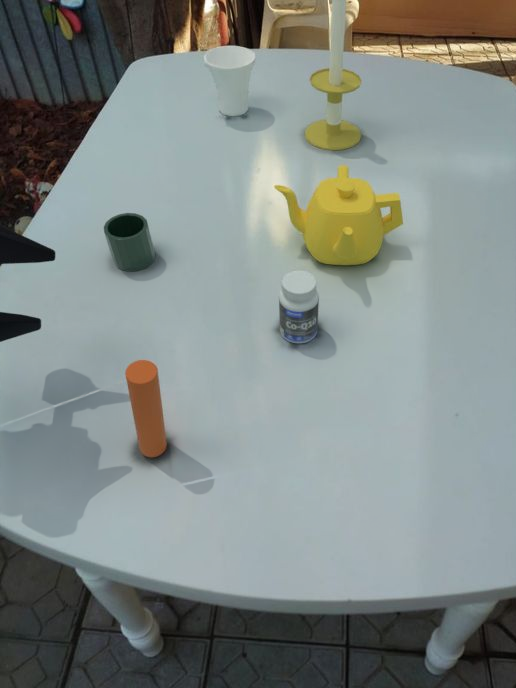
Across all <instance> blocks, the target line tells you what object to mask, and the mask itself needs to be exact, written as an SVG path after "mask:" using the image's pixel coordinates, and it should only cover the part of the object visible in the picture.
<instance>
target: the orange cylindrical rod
mask: <svg viewBox="0 0 516 688" xmlns="http://www.w3.org/2000/svg"><path fill="white" fill-rule="evenodd" d="M158 370H159V369H158V367H157V365H156V364H155V363H154V362H152V361H151V360H147V359H139V360H135V361H133V362H131V363H130V364H129V365H128V366H127V367H126V369H125V379H126V384H127V390H128V395H129V400H130V405H131V411H132V417H133V421H134V422H133V423H134V427H135V432H136V437H137V442H138V443H137V444H138V448H139V451H140V453H141V454H142V455H143V456H145V457H147V458H156V457H159V456H161V455H162V454H163V453H164V452H166V449H167V446H168V443H167V442H168V441H167V435H166V426H165V418H164V410H163V401H162V395H161V387H160V378H159V377H160V376H159V371H158Z"/></svg>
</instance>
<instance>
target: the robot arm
mask: <svg viewBox="0 0 516 688" xmlns="http://www.w3.org/2000/svg"><path fill="white" fill-rule="evenodd" d="M55 260H56V251H55V250H54V249H53V248H51V247H48V246H47V245H44V244H42V243H39V242H38V241H35V240H33V239H32V238H31V239H30V238H28V237H27V236H24V235H22V234H20V233H18V232H16V231H14V230H13V229H10V228H8V227H7V226H5V225H3V224H1V223H0V265H11V264H12V265H13V264H14V265H15V264H37V263H38V264H39V263H47V262H48V263H49V262H54V261H55ZM41 329H42V319H41V318H39V317H35V316H30V315H27V314H26V315H25V314H20V313H14V312H13V313H11V312H6V311H5V312H4V311H0V343H2V342H5V341H8V340H11V339H14V338H17V337H21V336H23V335H24V336H25V335H28V334H30V333H33V332H36V331H40V330H41Z"/></svg>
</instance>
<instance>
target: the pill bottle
mask: <svg viewBox="0 0 516 688" xmlns="http://www.w3.org/2000/svg"><path fill="white" fill-rule="evenodd" d="M319 307H320V295H319V291H318V290H317V279H316V277H315V276H314V275H313V274H312V273H310V272H308V271H306V270H293V271H289V272H287V273H286V274H285V275H283V278H282V280H281V289H280V291H279V294H278V310H279V311H278V313H279V317H278V318H279V332H280V335H281V337H282V338H283V339H284V340H286V341H287V342H289V343H292V344H305V343H308V342H311V341H312V340H313V339H314V338H315V337H316V336H317V333H318V328H319V324H318V323H319V309H320V308H319Z"/></svg>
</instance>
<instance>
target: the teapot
mask: <svg viewBox="0 0 516 688" xmlns="http://www.w3.org/2000/svg"><path fill="white" fill-rule="evenodd" d="M349 169H350V168H349V167H348V166H347V165H345V164H340V165H339V166H338V167H337V176H336V177H329V178H325V179H323V180H321V181H320V182H319V183H318V185H317V187H316V188H315V190H314V192H313V193H312V195H311V197H310V200H309V202H308V204H307V207H306V209H305V210H303V209H302V208H301V207H300V205H299V204H298V199H297V196H296V193H295V191H293V190H292V189H291V188H290V187H287V186H284V185H281V184H275V185H274V189H275V190H276V191H278V192H279V193H281V194H282V195H283V196H284V198H285V200H286V203H287V207H288V208H287V210H288V216H289V220H290V222H291V224H292V226H293V227H294V229H296V230H297V231H298V232H299V233H301V234H302V237H303V241H304V244H305V246H306V248H307V250H308V252H309V253H310V254H311V256H312V258H314V259H315V260H316V261H317V262H319V263H321V264H325V265H333V266H357V265H358V266H359V265H363V264H366V263H368V262H370V261H371V260H373V259H374V258H375V257H376V256H377V254H378V253H379V252H380V249H381V247H382V245H383V241H384V236H385V235H387V234H388V233H390V232H392V231H394V230H395V229H397V228H400V227H401V226H402V225H404V220H403V211H402V204H401V198H400V194H399V192H392V193H391V192H390V193H380V194H375V192H374V190H373V188H372V186H371V184H370V183H369V182H368V181H366V180H365V179H362V178H357V177H350V173H349V171H350V170H349ZM388 207H389V213H388V214H386V215H384V216H383V214H382V210H381V209H384V208H388Z"/></svg>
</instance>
